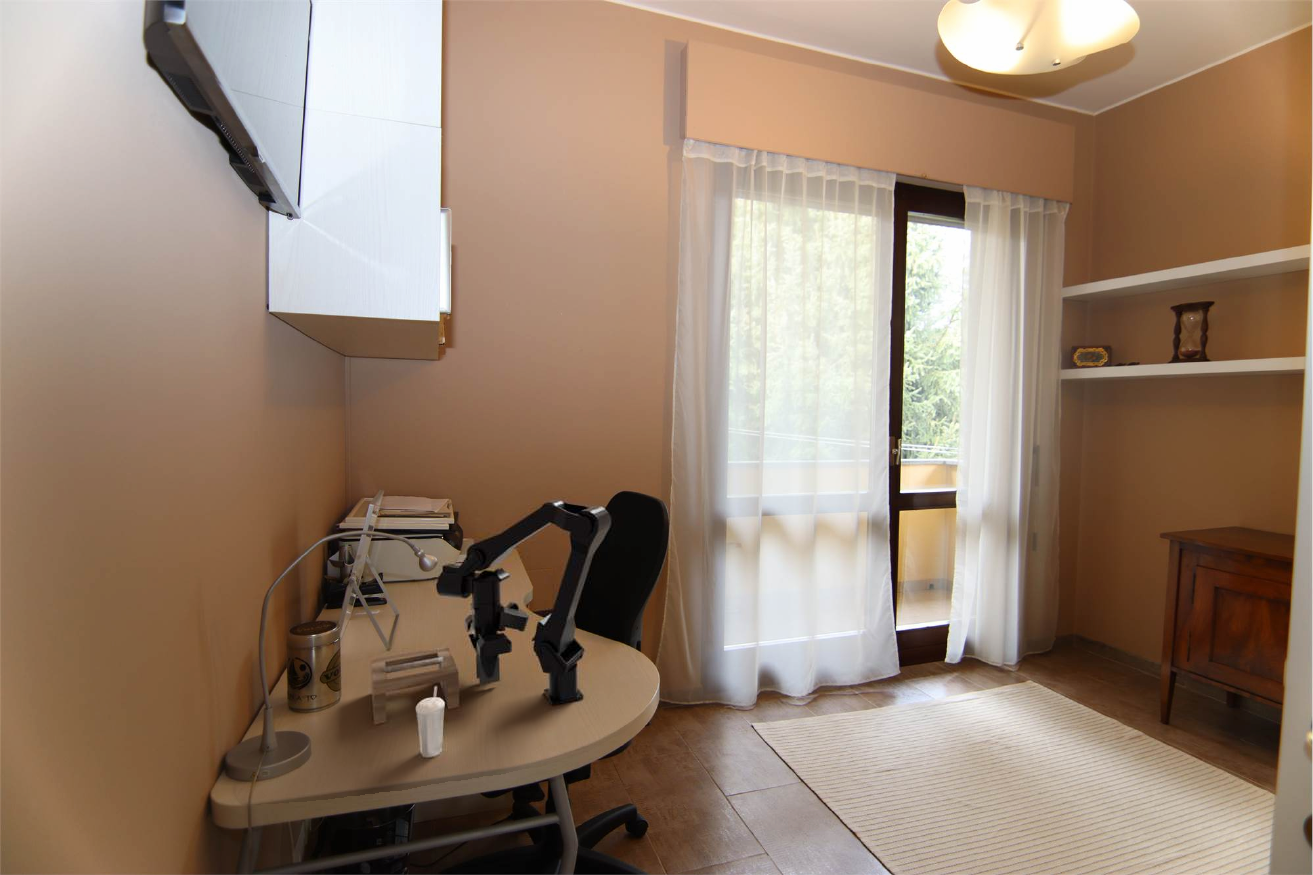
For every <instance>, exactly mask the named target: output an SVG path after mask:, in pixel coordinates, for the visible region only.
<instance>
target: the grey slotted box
mask: <svg viewBox="0 0 1313 875" xmlns="http://www.w3.org/2000/svg"><path fill="white" fill-rule="evenodd" d="M475 662H476V664H475V665H476V666H475V667H476V671H475V672H476V673H475V674H476V679H479V686H483V685H486V684H493V683H497V682H500V681H501V680H500V679H501V678H500V675H501V674H500V657H499V656H498V659H497V663H496V667H495V670H494V674H493V677H491V678H487V676H486V673H485V671H484V669H483V666H482V664H481V662H480V659H479V657H478V655H477V654H476V655H475Z"/></svg>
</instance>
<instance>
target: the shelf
mask: <svg viewBox="0 0 1313 875" xmlns="http://www.w3.org/2000/svg"><path fill="white" fill-rule="evenodd" d="M435 665H438V669H435V670H431V671H430V670H429V671H425V672H419V673H415V674H409V675H403V676H399V677H393V678H388V674H391V673H397V672H402V671H407V670H412V669H419V668H425V667H429V666H435ZM370 668H371V669H370V673H371V697H372V700H371V701H372V713H373V724H374V726H375V725H380V724H385V723H387V705H386V703H387V701H386V693H391V692H397V691H401V690H406V689H412V688H417V687H421V686H426V685H431V684H436V683H437V684H438V683H439V685H440V687H441V691H442V693H443V697H444V700H445V704H446V705H447V709H448V710H450V709H455V708H458V707H459V708H460V688H459V687H460V686H459V669H458V667H457V664H456V662H455V660H454V657H453V655H452V653H451V650H450V648H449V646H448V645H447V646H443V647H437V648H430V649H425V650H420V651H419V650H418V651H415V652H414V651H413V652H408V653H401V654H397V655H396V654H395V655H390V656H384V657H378V658H371V659H370Z"/></svg>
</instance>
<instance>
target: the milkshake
mask: <svg viewBox="0 0 1313 875" xmlns="http://www.w3.org/2000/svg"><path fill="white" fill-rule="evenodd" d="M437 692H438V686H437V685H435V686H434V688H433V697H426V698H424V699H422V700H420V701H419V702H418V703H417V705H416V706H415V713H416V719H417V720H416V721H417V727H418V739H419V745H420V746H419V747H420V748H419V749H420V754H421V756H422V757H423V758H434V757H436V756H439V755H440V754H441V752H442V750H443V734H444V717H445V716H444V715H445V704H446V701H444V700H443V699H442V698H441V697H437Z"/></svg>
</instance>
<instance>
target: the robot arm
mask: <svg viewBox="0 0 1313 875" xmlns="http://www.w3.org/2000/svg"><path fill="white" fill-rule="evenodd" d="M551 524H553V525H555V526H556V527H558V528H560V529H562V531H566V532H569V542H570V543H569V544H570V552H569V556H568V558H567V563H566V565H565V569H564V571H563V574H562V578H561V580H560V584H559V585H560V586H559V588H558V591H557V594H556V598H555V600H554V604H553V608H552V610H551V612H550V613H549V614H548V615H547V616H544V618H542V619H540V620H539V621H538V622H537V624H536V627H535V634H534V636H533V637H532V639H531V642H533V646H532V647H533V650H532V651H533V652H534V653H535V656H536V657H537V658H538V662H539V664H540V667H541V670H542V672H543V673H544V674H548V688H545V689H543V694H544V695H545V697H546V698H547V699H548V701H549V702H550V703H551V705H553V706H555V705H560V704H564V703H570V702H573V701H578V700H582V699H584V694H583V693H582V692H581V690H580V689H579V686H578V682H579V679H578V676H579V675H578V662H579V661H581V660H582V659H583V657H584V654H585V648H584V647H583V646H582V645H581V644H580V642H578V640H577V639H576V638H575V632H576V625H575V613H576V610H577V607H578V604H579V601H580V598H581V594H582V592H583V588H584V585H585V582H586V579H587V576H588V574H589V570H590V566H591V564H592V560H593V557H594V554H595V553H596V550H597V549H598V548H599V546H600V545H601V543H602V542H603V540H604V539H605V536H606V535H607V533H608V531H609V529H610V528H611V525H612V517H611V515H610V513H609V512H608V511H607V509H606V508H604V507H603V506H600V505H593V506H591V507H590V506H587V505H583V504H577V503H570V502H566V501H562V500H560V499H553V500H550V501H546V502H545V503H543V504H542V505H541V507H539V508H537V509H536V510H534V511H532V512H531V513H530V514H528V515H527V516H525V517H524V518H522V519H521V520H519V521H517V522H516V523H514V524H512V525H511V526H509V527H508V528H506V529H505V530H503V531H502V532H501V533H498V534H495V535H494V536H491V537H488V538H485V539H483V540H480V541H478V542H476V543H473V544H471V545H469V546H468V547H467V549H466V557H465V558H464V560H463V561H462V562H461V564H460V565H458V564H455V563H446V564H444V565H442V566H441V568H442V570H441V572H440V574H439V576H438V578H437V582H436V583H435V584H436V585H435V586H436V587H435V588H436V592H437V594H438V595H439V596H440V597H444V598H445V597H447V598H457V599H465V600H466V599H468V598H469V597H470V596H471V599H472V600H471V603H470V610H471V612H472V613H471V614H469V615H467V617H466V618H465V619H464V628H465V631H466V632H467V633H468V632H471V631H472V633H470V634H468V635H467V636H468V638H469V641H470V642H471V646H472V647H473V649H474V651H475V654H476V655H478V657H479V659H480V662H481V664H482V666H483V669H484V671H485V673H486V676H487V678H491V677H493V674H494V670H495V667H496V663H497V659H498V657H499V656H500V655H504V654H510V653H511V652H512V651H513V645H512V644H513V643H512V640H511V639H510V637H509V636H508V635H507V634H506V633H504V632H505V631H506V628H507V629H512V630H517V631H519V632H526V627H527V625H528V622H529V619H530V616H529V615H528V614H527V612H525V611H523V609H520V607H519V604H518V603H517V602H512V601H510V602H509V603H508V604H507V605H505V606H504V605H502V603H501V602H502V601H501V596H502V594H501V582H503V581H505V580H508V579H509V578H510V577H511V575H510V574H509V573H508V572H507V571H506V570H504V568H503V567H498V568H496V569H495V570H489V568H492V567H493V566H495V565H498V564H500V563H501V562H503V561H504V559H506V558H507V557H508V556H509V555H510V554H511V553H512V551H513V550H514V549H515V548H516V547H517V546H518V545H520V544H521V543H523V542H525V541H526V540H528V539H529V538H531V537H532V536H534V535H536V534H537V533H538V532H540V531H542V530H544V529H545V528H546V527H548V526H550V525H551ZM499 632H501V633H499Z"/></svg>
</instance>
